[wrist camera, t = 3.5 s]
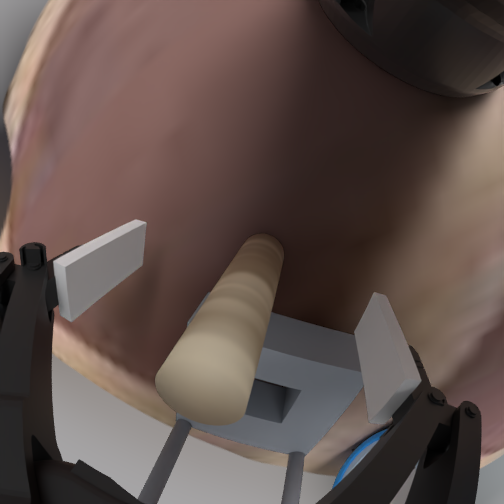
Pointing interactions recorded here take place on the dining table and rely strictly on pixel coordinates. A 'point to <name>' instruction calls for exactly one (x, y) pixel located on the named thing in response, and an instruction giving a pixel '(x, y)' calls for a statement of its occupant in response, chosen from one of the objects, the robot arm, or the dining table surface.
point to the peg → (225, 339)
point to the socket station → (281, 400)
